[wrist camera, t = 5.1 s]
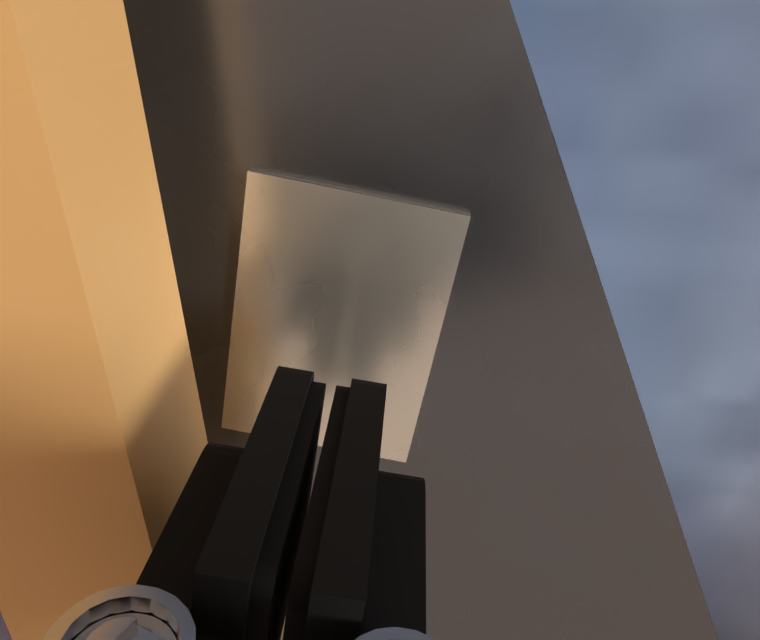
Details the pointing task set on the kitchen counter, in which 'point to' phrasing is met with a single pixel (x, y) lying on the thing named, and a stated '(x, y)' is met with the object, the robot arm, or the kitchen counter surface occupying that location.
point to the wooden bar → (83, 318)
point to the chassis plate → (417, 293)
